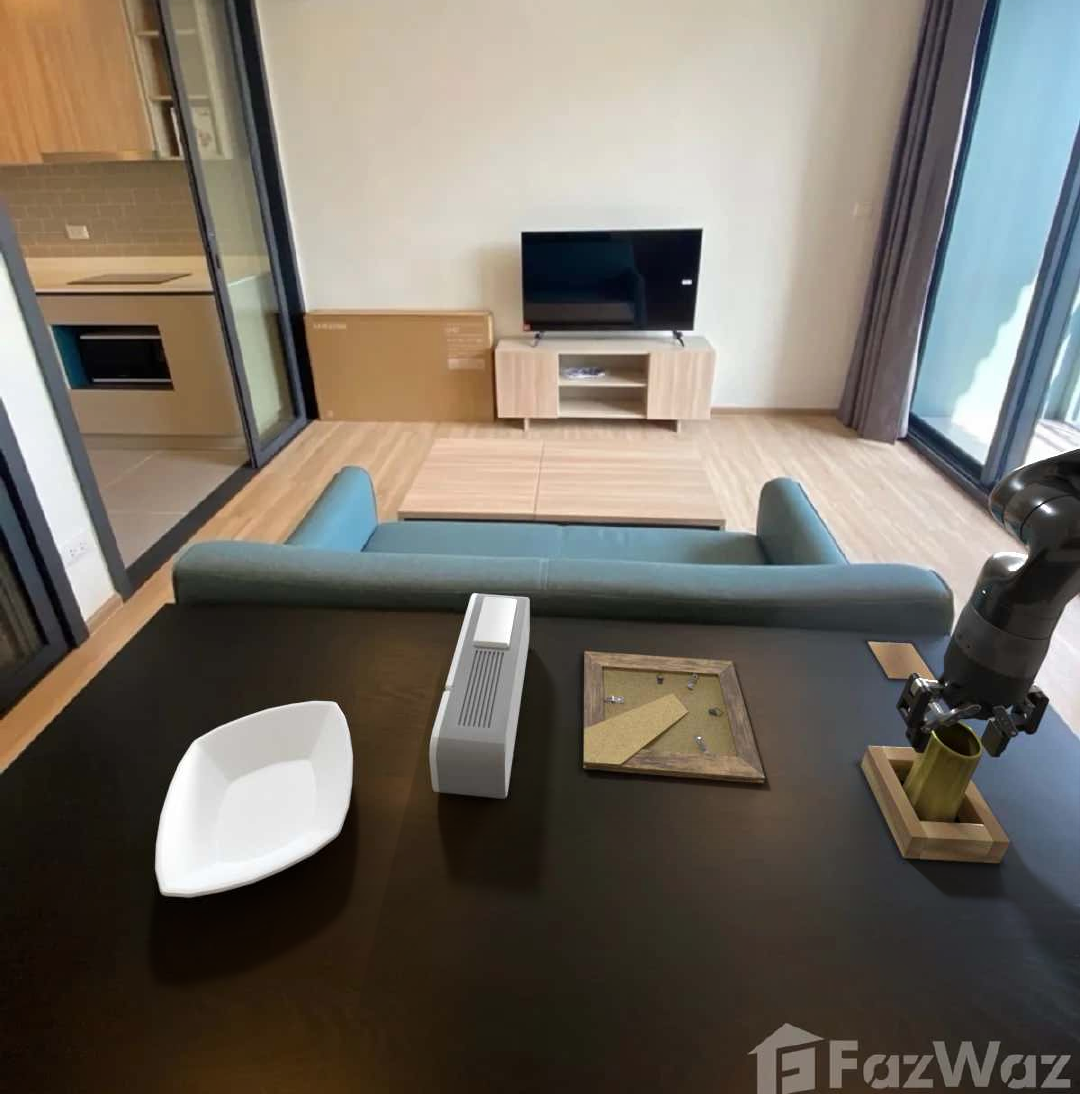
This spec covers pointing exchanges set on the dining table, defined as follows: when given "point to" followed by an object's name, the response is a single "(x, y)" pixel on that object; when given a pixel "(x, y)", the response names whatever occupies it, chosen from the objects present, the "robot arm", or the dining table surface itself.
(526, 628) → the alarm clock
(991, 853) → the holder
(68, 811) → the dining table surface
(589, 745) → the picture frame
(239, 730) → the bowl
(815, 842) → the dining table surface
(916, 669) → the coaster
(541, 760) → the dining table surface
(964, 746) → the vase
